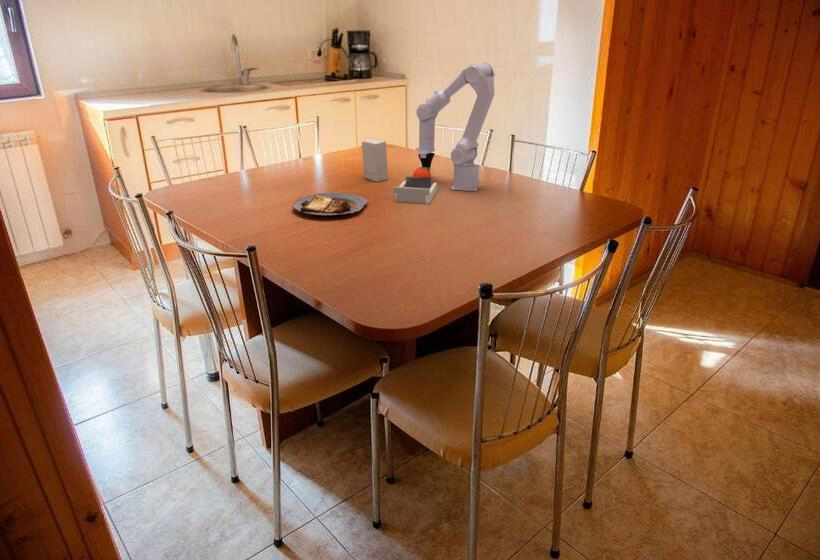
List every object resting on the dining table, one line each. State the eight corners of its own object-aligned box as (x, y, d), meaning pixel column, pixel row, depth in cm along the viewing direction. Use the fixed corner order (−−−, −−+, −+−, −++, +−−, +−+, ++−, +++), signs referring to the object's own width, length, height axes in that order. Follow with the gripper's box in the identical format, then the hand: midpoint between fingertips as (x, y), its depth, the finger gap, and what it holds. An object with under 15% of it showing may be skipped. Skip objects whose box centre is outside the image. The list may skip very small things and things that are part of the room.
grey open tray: (436, 190, 215) (437, 177, 213) (428, 203, 201) (429, 189, 199) (403, 188, 217) (403, 175, 215) (393, 201, 203) (393, 187, 201)
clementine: (434, 183, 224) (434, 164, 221) (433, 188, 218) (433, 169, 215) (413, 182, 225) (413, 164, 222) (411, 187, 219) (411, 168, 216)
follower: (431, 191, 213) (431, 177, 211) (430, 192, 212) (431, 178, 210) (406, 190, 215) (406, 176, 213) (405, 191, 214) (405, 177, 212)
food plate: (353, 222, 183) (353, 212, 181) (283, 218, 187) (282, 207, 185) (373, 201, 205) (373, 191, 204) (310, 197, 209) (309, 188, 208)
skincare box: (388, 179, 229) (387, 141, 223) (376, 182, 225) (375, 143, 219) (374, 175, 234) (373, 138, 228) (362, 178, 231) (361, 140, 224)
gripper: (420, 132, 227) (419, 167, 233) (412, 140, 214) (412, 176, 220) (438, 133, 226) (437, 168, 231) (431, 141, 213) (430, 177, 218)
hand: (426, 172), depth 225 cm, fingers closed
